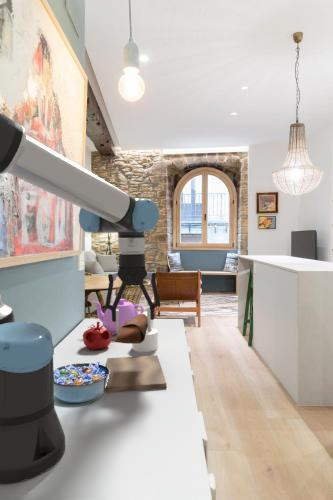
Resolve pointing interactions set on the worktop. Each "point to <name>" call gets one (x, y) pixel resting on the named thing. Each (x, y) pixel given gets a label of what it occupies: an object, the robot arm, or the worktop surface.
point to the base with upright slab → (148, 340)
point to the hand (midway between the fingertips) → (133, 331)
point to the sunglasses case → (133, 330)
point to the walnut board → (135, 373)
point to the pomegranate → (96, 337)
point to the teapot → (125, 314)
